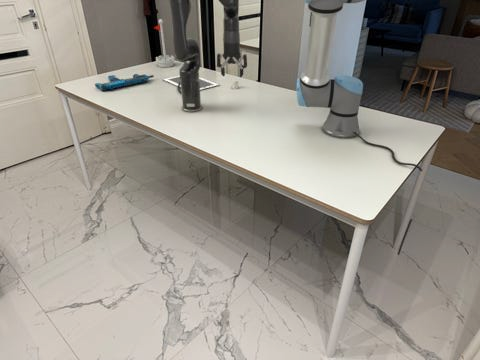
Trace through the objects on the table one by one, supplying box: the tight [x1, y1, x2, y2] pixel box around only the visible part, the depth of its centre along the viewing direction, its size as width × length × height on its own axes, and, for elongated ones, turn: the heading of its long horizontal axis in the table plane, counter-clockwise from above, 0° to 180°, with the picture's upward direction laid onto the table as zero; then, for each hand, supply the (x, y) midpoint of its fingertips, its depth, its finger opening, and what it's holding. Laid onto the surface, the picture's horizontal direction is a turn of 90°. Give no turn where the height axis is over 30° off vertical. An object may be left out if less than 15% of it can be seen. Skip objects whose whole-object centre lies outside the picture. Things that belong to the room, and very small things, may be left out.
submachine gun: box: [94, 73, 155, 91], centre depth 208 cm, size 34×4×25 cm
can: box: [231, 79, 239, 90], centre depth 199 cm, size 4×4×4 cm
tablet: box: [162, 75, 220, 91], centre depth 208 cm, size 32×20×1 cm, turn 41°
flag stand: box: [153, 18, 176, 68], centre depth 235 cm, size 13×13×30 cm
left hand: (232, 76), depth 164 cm, fingers open, 8 cm apart
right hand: (316, 28), depth 162 cm, fingers open, 13 cm apart
